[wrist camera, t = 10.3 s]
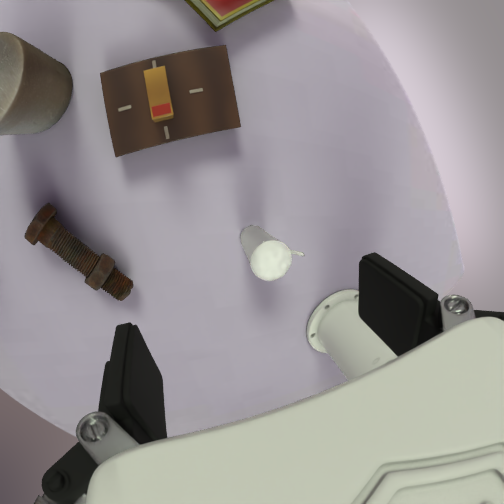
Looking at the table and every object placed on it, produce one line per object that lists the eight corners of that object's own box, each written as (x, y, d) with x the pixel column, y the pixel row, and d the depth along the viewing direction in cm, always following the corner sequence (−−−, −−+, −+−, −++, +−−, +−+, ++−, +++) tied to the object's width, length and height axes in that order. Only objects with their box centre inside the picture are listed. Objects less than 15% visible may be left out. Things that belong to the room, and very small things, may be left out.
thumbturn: (147, 79, 26) (143, 70, 21) (165, 75, 26) (164, 64, 22) (155, 122, 28) (152, 119, 23) (173, 118, 28) (173, 114, 24)
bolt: (127, 282, 38) (43, 216, 31) (144, 267, 36) (54, 194, 29) (111, 316, 34) (19, 246, 27) (128, 304, 31) (26, 225, 24)
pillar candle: (55, 46, 22) (1, 6, 9) (86, 100, 27) (33, 79, 13) (0, 96, 22) (-70, 87, 9) (27, 151, 27) (-43, 165, 13)
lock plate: (221, 51, 29) (226, 44, 26) (235, 128, 33) (241, 127, 30) (105, 78, 26) (99, 72, 24) (120, 155, 31) (115, 157, 28)
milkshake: (278, 240, 40) (310, 272, 31) (243, 258, 40) (265, 295, 31) (266, 211, 38) (297, 235, 29) (229, 229, 38) (248, 260, 29)
